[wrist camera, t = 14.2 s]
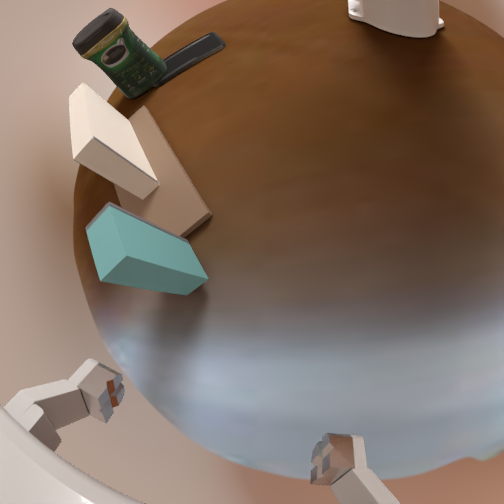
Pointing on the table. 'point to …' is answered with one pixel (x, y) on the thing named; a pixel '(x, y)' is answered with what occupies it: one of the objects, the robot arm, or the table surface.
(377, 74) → the table surface
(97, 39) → the coffee jar
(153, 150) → the stand
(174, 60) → the phone
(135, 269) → the teal rectangular block
